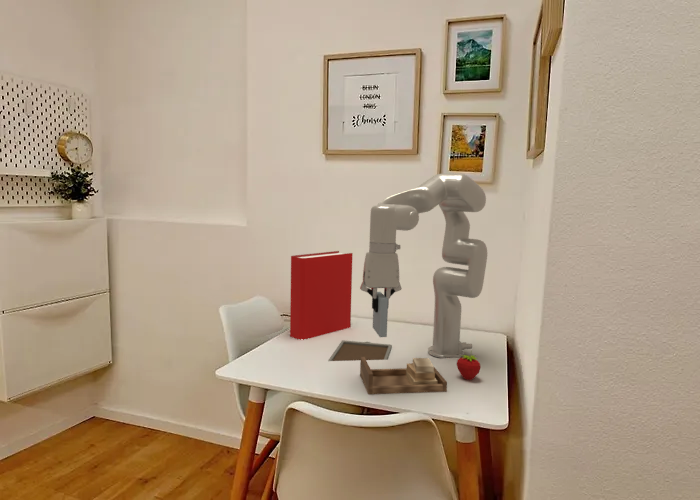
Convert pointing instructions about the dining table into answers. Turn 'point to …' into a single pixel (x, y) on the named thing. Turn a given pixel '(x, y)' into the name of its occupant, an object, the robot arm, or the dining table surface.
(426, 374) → the offcut middle
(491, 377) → the dining table surface
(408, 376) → the offcut bottom
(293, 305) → the book
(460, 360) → the strawberry
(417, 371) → the offcut top
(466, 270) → the robot arm
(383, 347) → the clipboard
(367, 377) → the tray
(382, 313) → the grey square slab
